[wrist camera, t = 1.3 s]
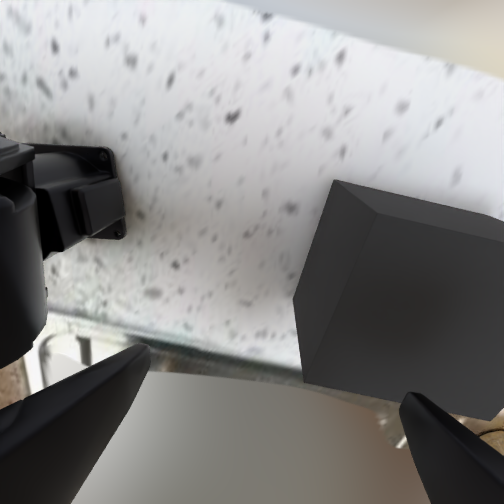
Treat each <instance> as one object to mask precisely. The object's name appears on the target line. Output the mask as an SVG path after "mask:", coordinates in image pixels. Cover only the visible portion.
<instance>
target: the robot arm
mask: <svg viewBox="0 0 504 504" xmlns="http://www.w3.org/2000/svg"><path fill="white" fill-rule="evenodd" d="M103 152H105V153H106V155H107V158H106V159H105V158H104V157H103V155H102V154H103ZM124 216H125V210H124V204H123V198H122V192H121V186H120V181H119V180H118V179H117V173H116V167H115V161H114V155H113V153H112V151H111V150H110V149H109V148H107V147H95V146H74V145H53V144H32V143H18V142H15V141H12V140H9V139H7V138H6V137H5V135H4V134H2V133H1V132H0V369H2V368H3V367H5V366H7V365H9V364H11V363H13V362H14V361H16V360H18V359H19V358H20V357H22V356H23V355H24V354H26V353H27V352H28V351H29V350H31V349H32V347H33V341H34V340H35V339H36V338H37V336H38V335H39V334H40V332H41V331H42V329H43V328H44V326H45V325H46V320H47V314H48V309H47V299H46V298H47V297H48V291H47V287H45V278H44V268H43V261H45V260H46V259H48V258H50V257H51V256H53V255H55V254H57V253H58V252H63V251H65V250H67V249H69V248H70V247H72V246H74V245H75V244H77V243H79V242H81V241H82V240H84V239H86V238H98V239H115V240H120V239H122V238H124V237H125V236H126V227H125V221H124ZM117 231H119V232H120V233H121V235H119V234H118V233H117ZM150 362H151V360H150V347H149V345H147V344H141V343H138V344H135V345H133V346H131V347H129V348H127V349H125V350H123V351H121V352H119V353H117V354H115V355H113V356H110V357H108V358H106V359H104V360H102V361H100V362H98V363H96V364H94V365H92V366H90V367H88V368H86V369H84V370H82V371H80V372H78V373H76V374H73V375H72V376H69V377H67V378H65V379H63V380H61V381H59V382H57V383H55V384H53V385H51V386H49V387H47V388H45V389H43V390H41V391H38V392H36V393H34V394H32V395H30V396H28V397H26V398H24V400H19V401H17V402H15V403H13V404H11V405H9V406H7V407H5V408H2V409H0V504H71V502H72V500H73V499H74V498H75V496H76V494H77V493H78V491H79V490H80V488H81V486H82V485H83V483H84V481H85V480H86V478H87V477H88V475H89V473H90V472H91V470H92V469H93V467H94V465H95V464H96V462H97V461H98V459H99V457H100V456H101V454H102V452H103V451H104V449H105V448H106V446H107V444H108V443H109V441H110V439H111V438H112V436H113V435H114V433H115V432H116V430H117V428H118V426H119V425H120V423H121V422H122V420H123V418H124V417H125V415H126V414H127V412H128V410H129V409H130V407H131V405H132V403H133V401H134V399H135V397H136V395H137V393H138V391H139V389H140V386H141V384H142V382H143V380H144V378H145V376H146V374H147V372H148V370H149V367H150ZM399 415H400V419H401V422H402V425H403V428H404V432H405V435H406V438H407V441H408V445H409V448H410V451H411V454H412V457H413V460H414V463H415V466H416V468H417V471H418V473H419V475H420V478H421V480H422V483H423V485H424V488H425V490H426V492H427V495H428V497H429V499H430V502H431V504H504V456H503V455H502V454H501V453H499V452H498V451H497V450H495V449H494V448H493V447H492V446H490V445H489V444H488V443H486V442H485V441H484V440H482V439H481V438H480V437H478V436H477V435H476V434H474V433H473V432H472V431H470V430H469V429H468V428H466V427H465V426H464V425H462V424H461V423H460V422H459V421H457V420H456V419H455V418H453V417H452V416H451V415H449V414H448V413H447V412H445V411H444V410H443V409H441V408H440V407H439V406H437V405H436V404H435V403H433V402H432V401H431V400H430V399H428V398H427V397H426V396H424V395H423V394H421V393H417V392H408V393H407V394H406V396H405V398H404V400H403V401H402V403H401V405H400V408H399Z"/></svg>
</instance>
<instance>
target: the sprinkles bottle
mask: <svg viewBox="0 0 504 504" xmlns="http://www.w3.org/2000/svg"><path fill="white" fill-rule="evenodd" d="M480 438H481V439H482V440H484V441H485V442H486V443H488V444H489V445H490V446H492V447H493V448H494V449H495V450H497V451H498V452H499V453H501V454H502V455H503V456H504V431H496V432H491V433H487V434H485V435H482V436H480Z"/></svg>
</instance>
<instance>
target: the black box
mask: <svg viewBox="0 0 504 504" xmlns="http://www.w3.org/2000/svg"><path fill="white" fill-rule="evenodd" d="M293 305H294V313H295V320H296V328H297V335H298V343H299V350H300V358H301V365H302V373H303V380H304V383H308V384H313V385H318V386H323V387H328V388H332V389H337V390H342V391H347V392H352V393H356V394H361V395H366V396H371V397H375V398H380V399H385V400H390V401H395V402H399V403H402V401H403V400H404V398H405V396H406V394H407V393H408V392H417V393H421V394H423V395H424V396H426V397H427V398H428V399H430V400H431V401H432V402H433V403H435V404H436V405H437V406H439V407H440V408H441V409H443V410H444V411H445V412H447V413H452V414H457V415H462V416H467V417H471V418H476V419H481V420H486V421H491V420H492V419H493V418H494V417H495V416H496V415H497V414H498V413H499V412H500V411H501V410H502V409H503V408H504V222H503V221H501V220H498V219H496V218H493V217H490V216H487V215H483V214H479V213H475V212H470V211H466V210H462V209H458V208H453V207H449V206H445V205H441V204H437V203H432V202H428V201H424V200H420V199H415V198H411V197H407V196H403V195H398V194H394V193H390V192H386V191H381V190H377V189H373V188H369V187H364V186H360V185H356V184H352V183H348V182H343V181H339V180H333V183H332V186H331V189H330V192H329V195H328V198H327V201H326V204H325V207H324V210H323V213H322V215H321V218H320V221H319V224H318V227H317V230H316V233H315V236H314V239H313V242H312V245H311V248H310V250H309V253H308V256H307V259H306V262H305V265H304V268H303V271H302V274H301V277H300V280H299V283H298V286H297V288H296V291H295V294H294V297H293Z"/></svg>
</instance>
